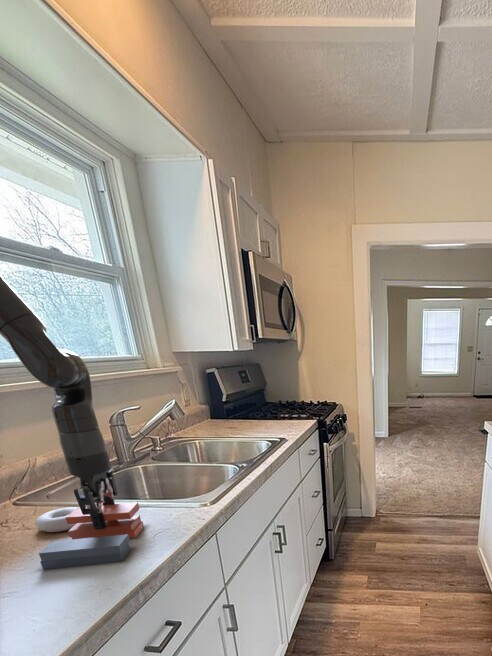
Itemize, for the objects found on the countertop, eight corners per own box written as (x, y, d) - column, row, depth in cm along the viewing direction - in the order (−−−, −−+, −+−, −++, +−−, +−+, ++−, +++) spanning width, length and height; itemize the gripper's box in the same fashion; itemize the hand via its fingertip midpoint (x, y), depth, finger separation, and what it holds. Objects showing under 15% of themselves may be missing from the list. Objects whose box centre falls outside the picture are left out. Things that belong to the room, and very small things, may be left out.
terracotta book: (67, 524, 87) (65, 517, 86) (80, 513, 93) (78, 507, 92) (130, 518, 90) (129, 512, 89) (139, 508, 95) (138, 502, 95)
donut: (27, 533, 94) (63, 535, 92) (22, 520, 93) (58, 522, 91) (65, 516, 103) (99, 518, 102) (61, 504, 102) (95, 506, 100)
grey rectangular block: (42, 569, 79) (36, 553, 77) (56, 556, 84) (51, 541, 82) (123, 561, 82) (118, 545, 80) (132, 549, 87) (128, 534, 85)
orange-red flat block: (72, 544, 89) (67, 531, 88) (84, 532, 94) (80, 519, 93) (135, 538, 91) (132, 525, 90) (144, 526, 97) (140, 514, 96)
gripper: (80, 444, 91) (101, 512, 97) (47, 460, 78) (73, 538, 84) (117, 442, 92) (135, 509, 99) (90, 458, 79) (113, 534, 86)
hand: (106, 522), depth 92 cm, fingers closed on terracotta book, 6 cm apart
